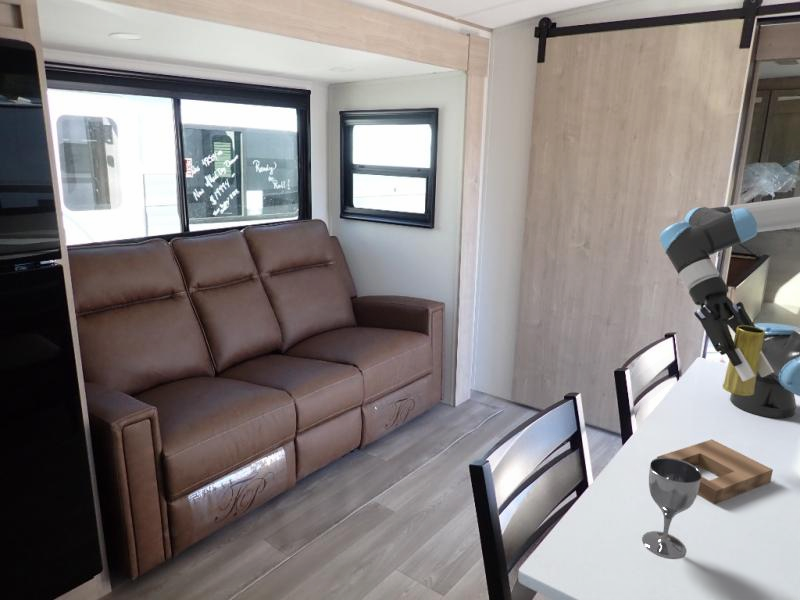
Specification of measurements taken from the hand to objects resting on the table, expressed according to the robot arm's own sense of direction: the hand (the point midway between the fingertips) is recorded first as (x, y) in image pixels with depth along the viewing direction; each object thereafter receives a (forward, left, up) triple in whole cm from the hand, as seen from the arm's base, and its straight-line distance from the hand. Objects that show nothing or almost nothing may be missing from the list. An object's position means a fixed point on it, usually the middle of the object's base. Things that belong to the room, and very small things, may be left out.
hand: (758, 376), depth 122 cm
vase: (0, -4, -5) cm, 6 cm away
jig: (+10, 0, -21) cm, 23 cm away
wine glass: (+38, +11, -21) cm, 45 cm away
